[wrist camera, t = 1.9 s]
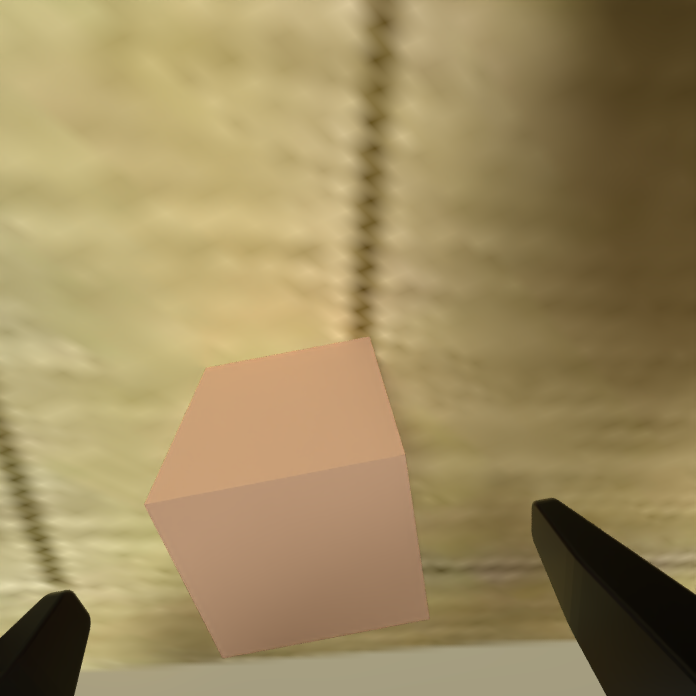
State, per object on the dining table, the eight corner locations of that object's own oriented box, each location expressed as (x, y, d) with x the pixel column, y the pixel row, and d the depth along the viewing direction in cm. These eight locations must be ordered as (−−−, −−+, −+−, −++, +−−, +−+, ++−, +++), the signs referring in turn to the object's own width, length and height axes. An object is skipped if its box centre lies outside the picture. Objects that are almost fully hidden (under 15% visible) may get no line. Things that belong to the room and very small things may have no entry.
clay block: (369, 335, 12) (405, 454, 7) (390, 463, 14) (429, 619, 9) (206, 367, 12) (144, 504, 7) (250, 490, 14) (222, 658, 9)
